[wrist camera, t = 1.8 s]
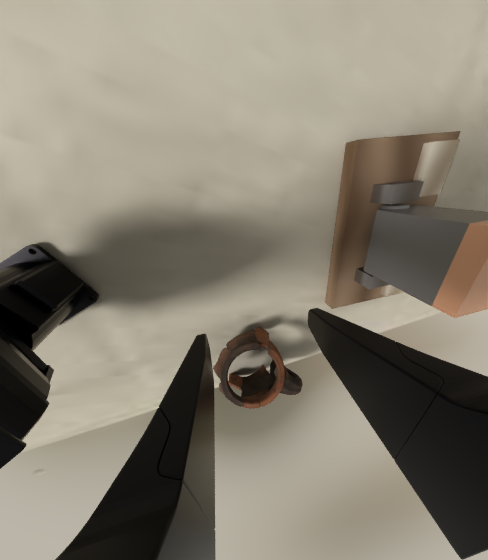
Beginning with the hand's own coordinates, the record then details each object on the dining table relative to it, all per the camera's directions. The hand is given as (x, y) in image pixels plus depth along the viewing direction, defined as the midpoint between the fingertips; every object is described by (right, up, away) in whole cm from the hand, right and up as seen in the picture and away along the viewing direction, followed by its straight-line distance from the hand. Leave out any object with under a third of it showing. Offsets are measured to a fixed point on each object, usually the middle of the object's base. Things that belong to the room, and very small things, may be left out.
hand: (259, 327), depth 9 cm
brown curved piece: (0, -8, +18) cm, 20 cm away
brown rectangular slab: (+15, +8, +13) cm, 22 cm away
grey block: (+14, +7, +12) cm, 19 cm away
